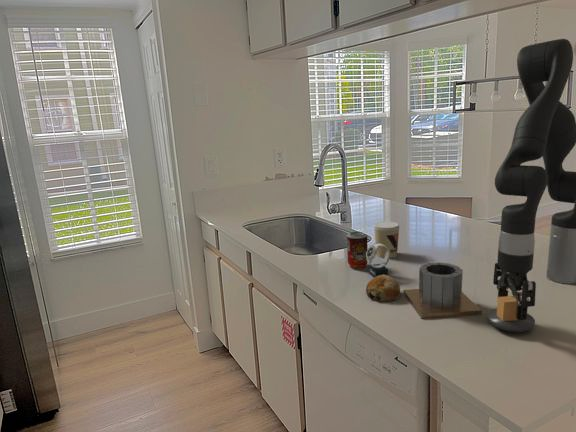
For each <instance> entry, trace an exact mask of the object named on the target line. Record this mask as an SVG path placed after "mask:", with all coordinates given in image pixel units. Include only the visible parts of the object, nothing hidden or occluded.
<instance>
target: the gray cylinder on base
mask: <svg viewBox="0 0 576 432" xmlns="http://www.w3.org/2000/svg"><path fill="white" fill-rule="evenodd" d="M418 271H419V274H418V276H419V277H418V288H409V289H403V291H402V292H403V295H404V297H405V298H406V299H407V301H408V303H410V305H411V306H412V308H413V309H414V311H416V313H417V315H418V316H419V317H420V319H421V320H422V319H434V318H435V319H436V318H446V317H447V318H449V317H465V316H466V317H467V316H477V315H479V314H480V315H482V309H481V308H479V307H478V306H477V304H476V303H474V302H473V301H472V300H471V299H470V298H469V297H468V296H467V295H466V294H465V293H464V292H463V269H462V268H461V267H460V266H458V265H456V264H452V263H447V262H427V263H424V264H421V266H420V267H419V270H418Z"/></svg>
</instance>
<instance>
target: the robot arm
mask: <svg viewBox="0 0 576 432" xmlns="http://www.w3.org/2000/svg"><path fill="white" fill-rule="evenodd" d="M573 49H574V48H573V46H572V43H571V42H570V40H569V39H567V38H560V39H554V40H553V39H552V40H548V41H543V42H537V43H534V44H530V45H526V46H524V47H522V48H520V50H519V51H518V54H517V58H516V68H517V73H518V76H519V79H520V83H521V86H522V89H523V91H524V93H525V95H526V98H527V102H528V105H529V106H528V107H527V108H526V109H525V110H524V111H523V113H522V114H521V116H520V117H519V119H518V121H517V123H516V125H515V128H514V133H513V137H512V142H511V145H510V149H509V150H508V153H507V155H506V157H505V158H504V159H503V162H502V163H501V165H500V167H499V168H498V170H497V172H496V174H495V178H494V186H495V190H496V191H497V192H498V193H499V194H500V195H503V196H515V197H526V200H525V201H524V202H523V203H518V204H509V205H506V206H504V207H503V208H502V210H501V220H500V231H499V237H498V247H497V261H496V262H495V263H494V269H493V279H492V280H493V282H492V283H493V285H496V290H497V298H498V297H506V296H509V290H510V291H511V294H512V295H511V296H514V297H515V298H516V302H517V309H516V319H518V320H526V318H527V313H528V308H529V307H535V306H536V292H537V290H536V288H537V283H536V282H535V280H534V281H532V280H531V281H530V280H528V273H529V272H531V271H532V270H533V267H534V257H535V256H534V255H535V254H534V253H535V246H536V245H535V243H536V241H535V240H536V239H535V230H536V229H535V228H536V216H537V212H538V208H539V204H540V202H541V200H542V197H543V195H544V193H545V191H546V189H547V192H548V195H549V196H548V197H550V198H551V200H553V201H555V202H560V203H568V204H574V206H573V208H572V209H569V210H566V211H560V212H555V213H554V214H553V215H552V216H551V222H550V223H551V224H550V233H549V242H548V243H549V245H548V252H547V265H546V278H547V279H549V280H550V281H553V282H557V283H560V284H567V285H568V284H569V285H571V284H572V285H573V284H576V171H569V170H565V169H564V167H563V163H564V161H565V159H566V157H568V155H569V154H570V153H571V151H572V150H573V149H574V147H575V146H576V117H575V114H574V113H573V112H572V111H571V110H570V108H568V107H567V106H566V105H565V104H564V103H563V102H561V101H560V100H561V97H562V95H563V93H564V90H565V88H566V84H567V83H568V80H569V77H570V75H571V71H572V68H573V62H574V50H573ZM545 82H547V83H546V85H545ZM541 158H542V160H543V164H544V167H543V166H541V165H524V163H526V162H527V163H528V162H533V161H537V160H539V159H541ZM520 296H521V297H522V301H521V299H520Z"/></svg>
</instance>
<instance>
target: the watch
mask: <svg viewBox="0 0 576 432" xmlns="http://www.w3.org/2000/svg"><path fill="white" fill-rule="evenodd" d="M380 246H383V247H385V248H386V250H387V252H386V255H385V258H382V259H383V260H382V261H381V263H377V264H376V263H375V264H372V262H373V260H374V259H375V258H376V257H377V255H376V254H377V250H378V248H379V247H380ZM390 256H391V255H390V250H389V249H388V248H387V247H386V246H385V245H383V244H379V243H378V244H375V243H374V244H372V245H370V246H368V247H367V252H366V259H367V264H368V267H369V269H368V270H369V271H368V273H369V275H370V276H371V277H372V279H373V278H375V277H376V276H379V275H383V274H384V275H387V276H389V269H388V268H387V267H386V266H387V265H388V264H389V261H390V259H391V258H390Z"/></svg>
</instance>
